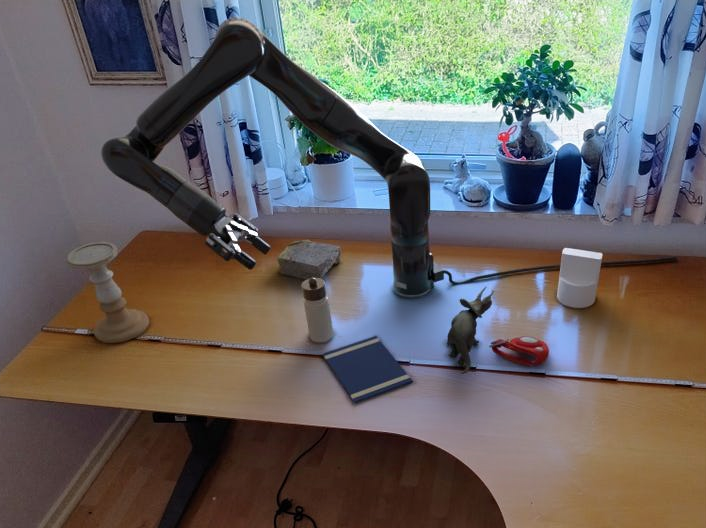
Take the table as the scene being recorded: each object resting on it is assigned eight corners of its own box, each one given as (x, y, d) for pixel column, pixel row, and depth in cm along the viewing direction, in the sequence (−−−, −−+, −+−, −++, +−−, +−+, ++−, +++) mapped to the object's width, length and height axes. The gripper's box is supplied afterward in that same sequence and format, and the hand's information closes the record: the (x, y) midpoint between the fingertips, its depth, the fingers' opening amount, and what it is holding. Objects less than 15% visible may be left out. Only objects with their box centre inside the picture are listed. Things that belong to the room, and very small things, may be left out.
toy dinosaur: (466, 390, 126) (466, 345, 119) (426, 381, 129) (425, 337, 122) (493, 329, 142) (495, 286, 135) (458, 322, 145) (458, 280, 138)
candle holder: (159, 326, 148) (131, 250, 136) (110, 350, 141) (76, 273, 129) (134, 307, 155) (105, 234, 142) (85, 330, 148) (51, 254, 136)
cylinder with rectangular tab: (553, 304, 149) (558, 259, 142) (561, 285, 156) (566, 241, 148) (591, 310, 146) (599, 266, 139) (597, 291, 153) (605, 247, 145)
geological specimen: (322, 266, 157) (271, 254, 161) (324, 286, 161) (274, 274, 166) (342, 245, 165) (292, 234, 169) (343, 265, 169) (295, 254, 173)
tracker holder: (533, 331, 139) (560, 345, 131) (530, 349, 141) (557, 365, 132) (486, 334, 134) (512, 350, 126) (484, 354, 136) (509, 370, 127)
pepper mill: (328, 326, 146) (319, 269, 136) (337, 338, 142) (328, 280, 132) (306, 333, 144) (296, 276, 134) (314, 345, 140) (304, 287, 131)
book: (376, 337, 142) (376, 335, 141) (412, 382, 129) (412, 380, 129) (322, 355, 137) (322, 353, 137) (354, 403, 125) (354, 401, 124)
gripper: (189, 206, 121) (258, 259, 125) (219, 185, 133) (281, 234, 137) (172, 234, 125) (240, 284, 129) (203, 211, 137) (264, 258, 141)
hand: (261, 258), depth 133 cm, fingers open, 8 cm apart
